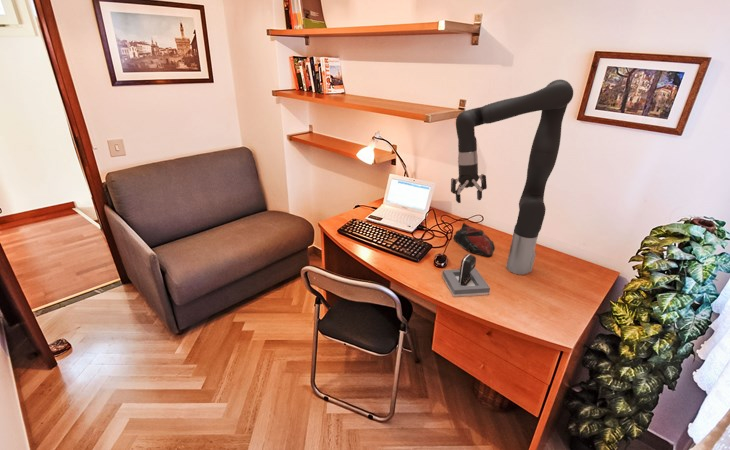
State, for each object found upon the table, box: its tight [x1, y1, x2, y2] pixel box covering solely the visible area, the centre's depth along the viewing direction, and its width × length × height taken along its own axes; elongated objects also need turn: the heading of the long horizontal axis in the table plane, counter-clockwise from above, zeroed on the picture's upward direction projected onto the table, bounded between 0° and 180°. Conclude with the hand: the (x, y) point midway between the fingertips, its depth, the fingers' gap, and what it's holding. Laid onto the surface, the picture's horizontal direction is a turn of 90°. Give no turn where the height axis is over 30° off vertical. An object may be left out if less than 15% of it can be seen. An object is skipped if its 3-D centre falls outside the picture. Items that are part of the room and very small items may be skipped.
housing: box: [441, 267, 491, 298], centre depth 144 cm, size 14×14×3 cm
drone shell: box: [452, 222, 496, 257], centre depth 174 cm, size 21×20×8 cm
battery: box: [459, 253, 477, 285], centre depth 143 cm, size 7×4×11 cm, turn 143°
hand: (469, 201), depth 152 cm, fingers open, 8 cm apart
